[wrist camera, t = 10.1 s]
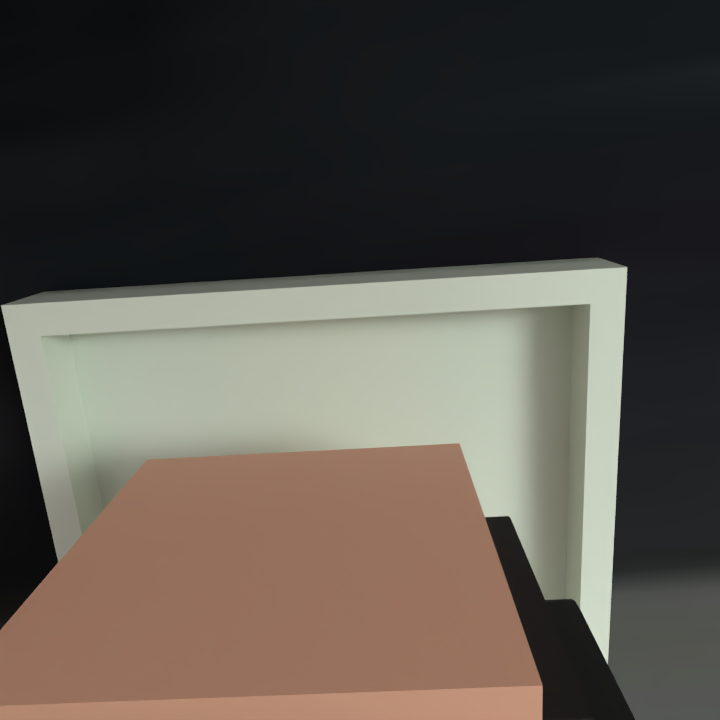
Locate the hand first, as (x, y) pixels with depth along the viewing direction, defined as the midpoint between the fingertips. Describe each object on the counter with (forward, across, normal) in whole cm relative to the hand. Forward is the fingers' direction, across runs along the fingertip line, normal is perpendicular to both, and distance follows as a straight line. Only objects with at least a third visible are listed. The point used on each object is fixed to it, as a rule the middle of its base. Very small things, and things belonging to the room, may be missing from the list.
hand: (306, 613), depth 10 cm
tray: (+4, 0, 0) cm, 4 cm away
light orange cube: (+1, 0, 0) cm, 1 cm away
